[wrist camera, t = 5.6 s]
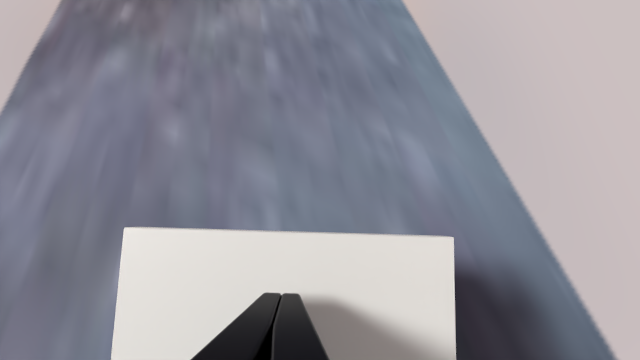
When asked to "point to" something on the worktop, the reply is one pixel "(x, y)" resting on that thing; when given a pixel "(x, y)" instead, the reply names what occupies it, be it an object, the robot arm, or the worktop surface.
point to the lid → (286, 290)
